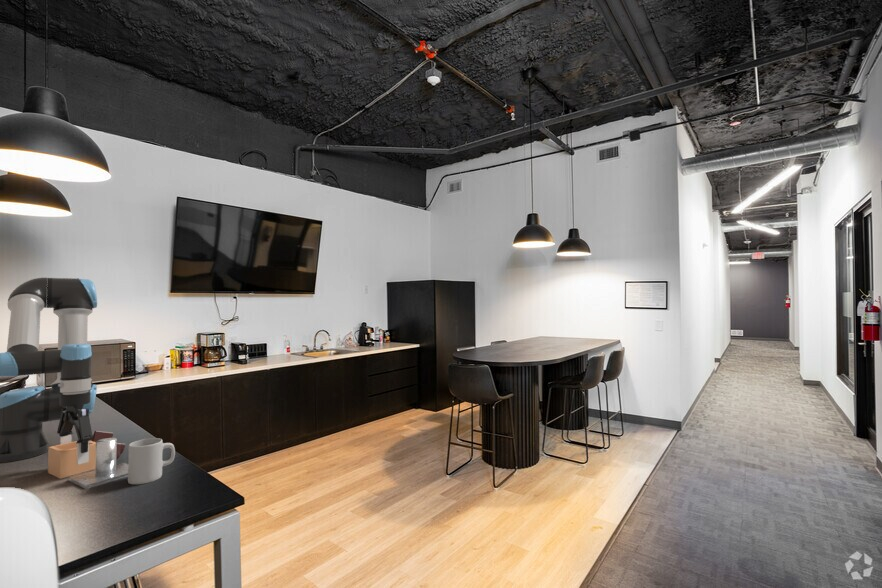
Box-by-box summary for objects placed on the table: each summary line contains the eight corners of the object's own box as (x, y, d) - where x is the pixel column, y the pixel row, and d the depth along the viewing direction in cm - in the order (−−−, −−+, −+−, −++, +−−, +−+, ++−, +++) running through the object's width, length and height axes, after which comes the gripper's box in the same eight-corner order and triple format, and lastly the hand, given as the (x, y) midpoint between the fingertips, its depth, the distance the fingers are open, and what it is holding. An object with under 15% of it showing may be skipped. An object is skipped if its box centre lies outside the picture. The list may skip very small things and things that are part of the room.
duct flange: (68, 480, 126) (69, 443, 127) (123, 465, 138) (123, 431, 139) (85, 489, 120) (86, 450, 121) (140, 472, 132) (141, 437, 133)
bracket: (107, 458, 138) (115, 426, 142) (68, 465, 141) (76, 434, 146) (125, 459, 143) (132, 428, 147) (86, 466, 147) (94, 436, 151)
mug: (131, 487, 121) (132, 448, 122) (124, 479, 127) (125, 442, 127) (178, 475, 130) (179, 439, 130) (170, 468, 136) (171, 433, 136)
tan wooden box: (47, 472, 133) (48, 446, 133) (85, 463, 141) (85, 438, 141) (60, 478, 128) (60, 452, 128) (97, 468, 136) (98, 443, 136)
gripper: (45, 391, 138) (43, 457, 137) (76, 397, 126) (74, 470, 125) (74, 387, 145) (72, 450, 144) (106, 393, 132) (105, 462, 131)
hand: (73, 459), depth 134 cm, fingers open, 13 cm apart
